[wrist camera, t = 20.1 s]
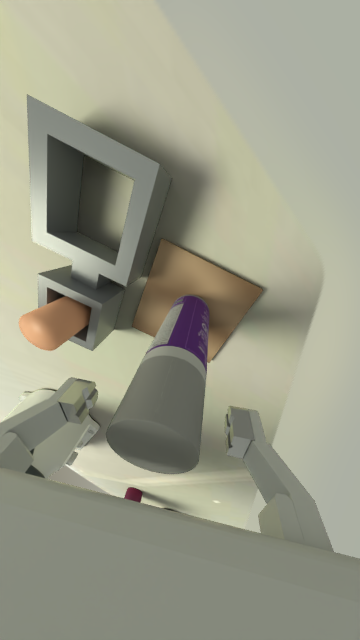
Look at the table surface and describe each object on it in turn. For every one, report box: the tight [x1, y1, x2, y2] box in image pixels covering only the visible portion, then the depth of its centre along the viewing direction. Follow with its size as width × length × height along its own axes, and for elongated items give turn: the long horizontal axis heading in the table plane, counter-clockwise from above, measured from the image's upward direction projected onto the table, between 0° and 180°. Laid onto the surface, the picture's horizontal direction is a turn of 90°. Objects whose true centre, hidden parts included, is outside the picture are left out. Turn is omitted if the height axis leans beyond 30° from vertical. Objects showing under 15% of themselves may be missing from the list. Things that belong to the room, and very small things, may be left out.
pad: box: [132, 239, 263, 363], centre depth 21 cm, size 12×12×1 cm
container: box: [106, 295, 209, 474], centre depth 14 cm, size 5×5×15 cm
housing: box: [27, 95, 172, 351], centre depth 18 cm, size 20×10×5 cm, turn 156°
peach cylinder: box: [19, 296, 92, 351], centre depth 19 cm, size 4×4×8 cm
